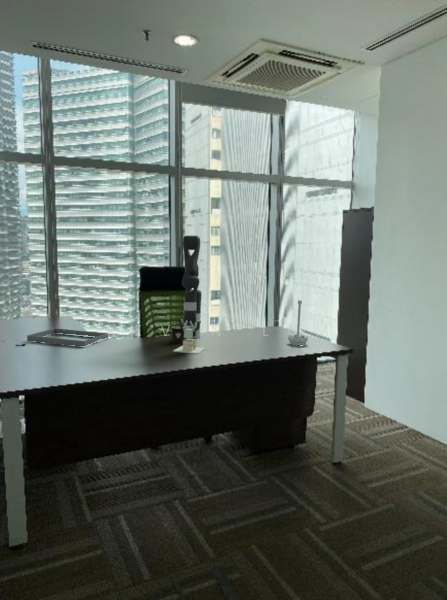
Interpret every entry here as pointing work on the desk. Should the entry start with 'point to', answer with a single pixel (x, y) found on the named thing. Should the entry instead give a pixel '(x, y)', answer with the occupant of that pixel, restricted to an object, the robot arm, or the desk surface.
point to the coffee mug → (177, 334)
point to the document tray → (39, 338)
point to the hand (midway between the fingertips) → (189, 336)
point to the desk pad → (196, 351)
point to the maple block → (189, 344)
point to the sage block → (188, 333)
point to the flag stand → (296, 338)
